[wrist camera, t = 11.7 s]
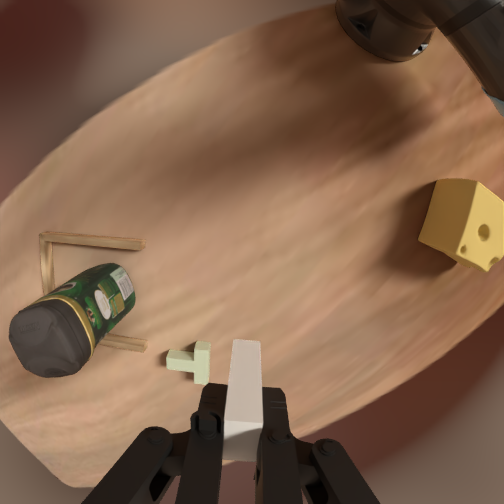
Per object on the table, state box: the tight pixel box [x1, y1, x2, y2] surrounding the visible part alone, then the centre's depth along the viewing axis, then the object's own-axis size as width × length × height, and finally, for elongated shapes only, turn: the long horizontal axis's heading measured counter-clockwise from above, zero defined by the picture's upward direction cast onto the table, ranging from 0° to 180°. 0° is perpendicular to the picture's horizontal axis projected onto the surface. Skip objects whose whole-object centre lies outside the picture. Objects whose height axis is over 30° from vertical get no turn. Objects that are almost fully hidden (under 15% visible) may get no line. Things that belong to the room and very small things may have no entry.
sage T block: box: [166, 341, 211, 385], centre depth 41 cm, size 6×6×2 cm
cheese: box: [418, 179, 504, 272], centre depth 34 cm, size 10×11×10 cm
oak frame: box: [39, 232, 147, 353], centre depth 39 cm, size 16×17×2 cm
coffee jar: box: [9, 263, 135, 378], centre depth 31 cm, size 10×8×19 cm
